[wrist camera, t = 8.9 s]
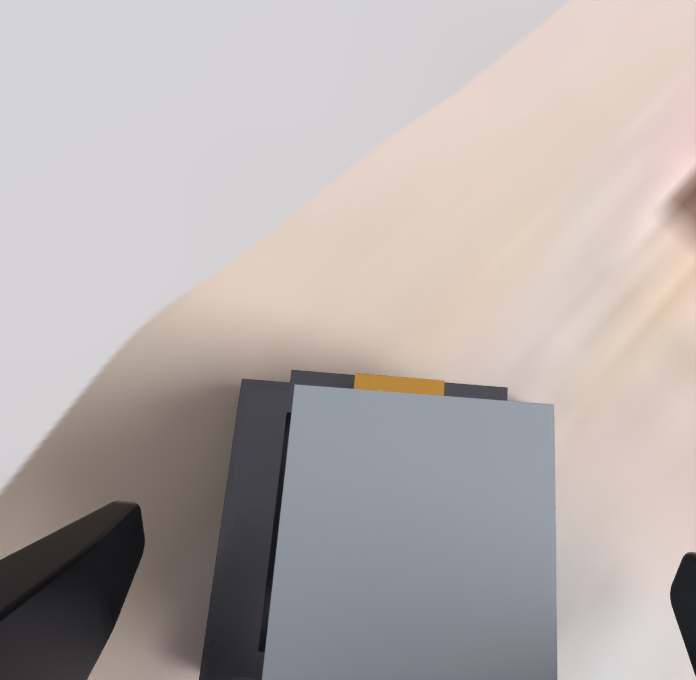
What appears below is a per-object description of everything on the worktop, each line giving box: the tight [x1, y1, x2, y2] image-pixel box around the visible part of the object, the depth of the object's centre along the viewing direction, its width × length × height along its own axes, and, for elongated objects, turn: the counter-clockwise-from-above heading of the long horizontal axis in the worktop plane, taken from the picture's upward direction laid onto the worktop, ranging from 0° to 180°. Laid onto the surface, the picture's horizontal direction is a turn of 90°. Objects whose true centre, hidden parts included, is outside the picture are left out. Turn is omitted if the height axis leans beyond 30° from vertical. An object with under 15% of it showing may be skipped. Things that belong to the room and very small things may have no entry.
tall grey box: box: [262, 384, 557, 680], centre depth 14 cm, size 4×4×11 cm
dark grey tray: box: [199, 370, 507, 680], centre depth 18 cm, size 9×10×5 cm
